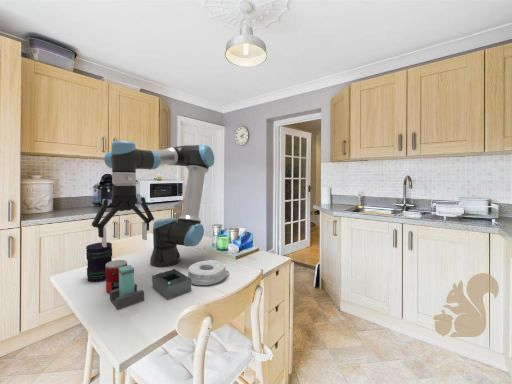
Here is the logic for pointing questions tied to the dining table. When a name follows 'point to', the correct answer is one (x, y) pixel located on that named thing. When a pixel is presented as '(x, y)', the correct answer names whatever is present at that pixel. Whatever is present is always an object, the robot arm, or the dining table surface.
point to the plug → (126, 280)
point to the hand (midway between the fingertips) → (125, 242)
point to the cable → (207, 272)
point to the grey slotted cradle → (126, 298)
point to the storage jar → (97, 261)
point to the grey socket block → (171, 283)
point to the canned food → (113, 274)
